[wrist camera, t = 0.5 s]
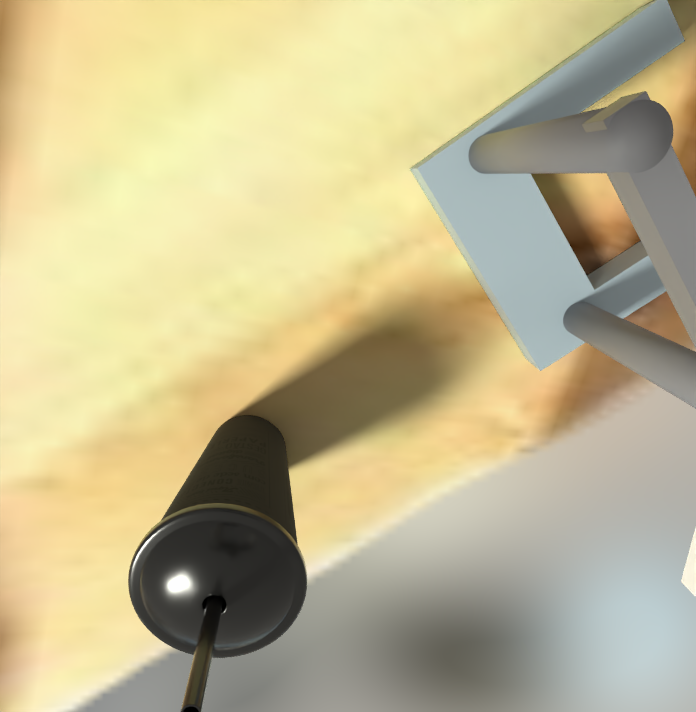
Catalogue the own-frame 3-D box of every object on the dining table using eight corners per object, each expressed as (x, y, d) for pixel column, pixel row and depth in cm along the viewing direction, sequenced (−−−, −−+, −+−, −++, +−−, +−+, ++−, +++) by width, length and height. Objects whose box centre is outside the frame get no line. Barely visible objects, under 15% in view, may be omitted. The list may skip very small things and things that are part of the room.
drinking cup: (229, 371, 37) (148, 576, 18) (330, 434, 39) (351, 682, 20) (165, 464, 39) (29, 742, 20) (265, 520, 41) (227, 828, 21)
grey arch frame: (639, 8, 33) (1002, -175, 16) (736, 223, 37) (1114, 266, 20) (409, 168, 35) (510, 162, 17) (525, 358, 38) (703, 508, 21)
